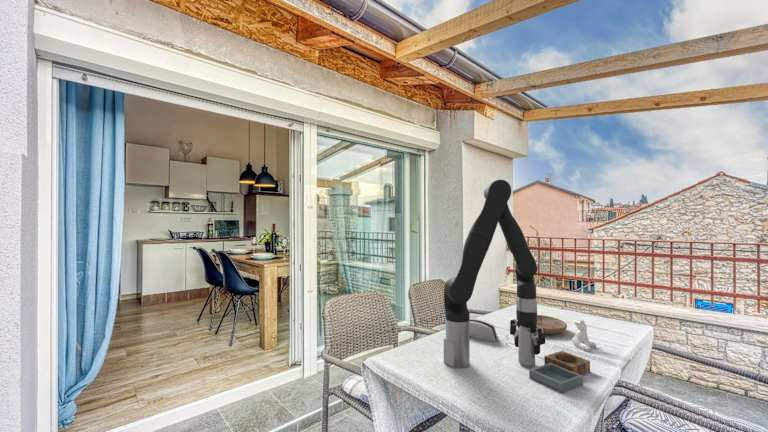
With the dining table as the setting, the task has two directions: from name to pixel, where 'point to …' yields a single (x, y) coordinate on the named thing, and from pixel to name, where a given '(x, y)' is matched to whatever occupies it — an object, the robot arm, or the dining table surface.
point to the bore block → (568, 362)
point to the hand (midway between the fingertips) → (527, 350)
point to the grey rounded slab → (483, 330)
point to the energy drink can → (525, 347)
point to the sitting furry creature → (582, 337)
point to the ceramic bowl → (550, 324)
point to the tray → (556, 377)
